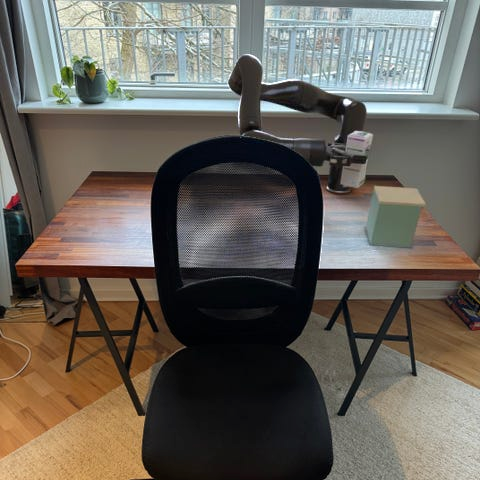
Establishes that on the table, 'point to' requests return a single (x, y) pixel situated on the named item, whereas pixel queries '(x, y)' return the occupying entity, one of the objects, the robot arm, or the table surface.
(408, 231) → the box
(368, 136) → the syrup box
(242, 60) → the robot arm
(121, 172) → the table surface
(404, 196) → the lid
